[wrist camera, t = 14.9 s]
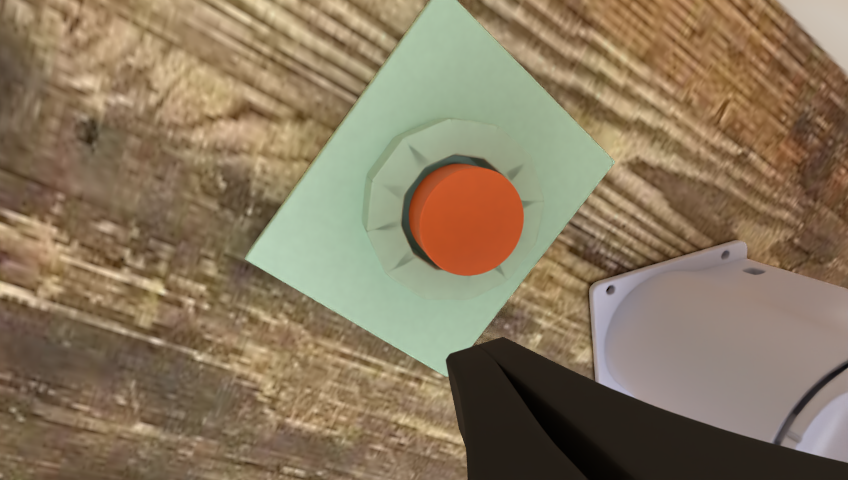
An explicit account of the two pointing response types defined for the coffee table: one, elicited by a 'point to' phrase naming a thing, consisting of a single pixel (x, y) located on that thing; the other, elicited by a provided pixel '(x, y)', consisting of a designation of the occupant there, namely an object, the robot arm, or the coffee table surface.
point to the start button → (466, 218)
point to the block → (405, 169)
